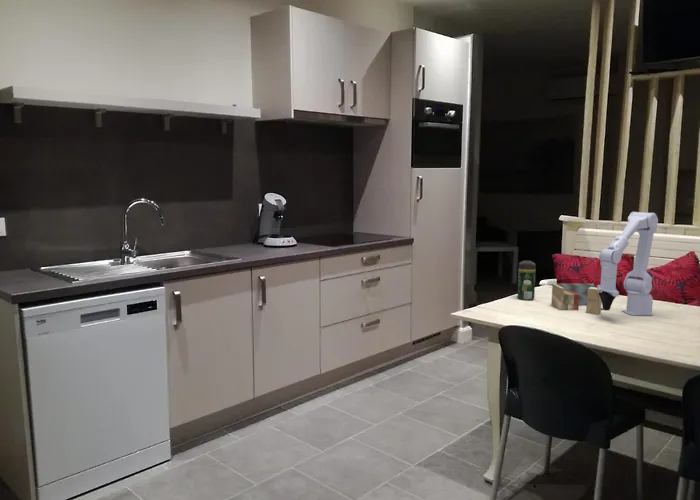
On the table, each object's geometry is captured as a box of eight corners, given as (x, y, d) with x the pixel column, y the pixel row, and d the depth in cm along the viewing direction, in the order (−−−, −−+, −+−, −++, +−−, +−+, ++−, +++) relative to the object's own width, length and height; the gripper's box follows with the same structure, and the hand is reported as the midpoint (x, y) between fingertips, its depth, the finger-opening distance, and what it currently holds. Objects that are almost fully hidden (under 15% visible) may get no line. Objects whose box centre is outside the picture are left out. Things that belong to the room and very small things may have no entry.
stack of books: (593, 305, 255) (594, 283, 254) (603, 310, 245) (605, 288, 244) (550, 304, 255) (551, 283, 254) (559, 310, 245) (560, 288, 243)
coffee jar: (517, 296, 274) (518, 259, 272) (533, 297, 272) (535, 260, 269) (517, 300, 265) (519, 261, 262) (534, 301, 263) (536, 262, 260)
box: (585, 312, 240) (587, 287, 239) (589, 311, 243) (590, 286, 242) (598, 314, 237) (599, 289, 235) (601, 313, 240) (603, 288, 238)
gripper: (590, 274, 234) (588, 306, 236) (607, 280, 220) (605, 314, 221) (607, 275, 234) (605, 306, 236) (625, 281, 220) (622, 314, 221)
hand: (606, 310), depth 229 cm, fingers closed
